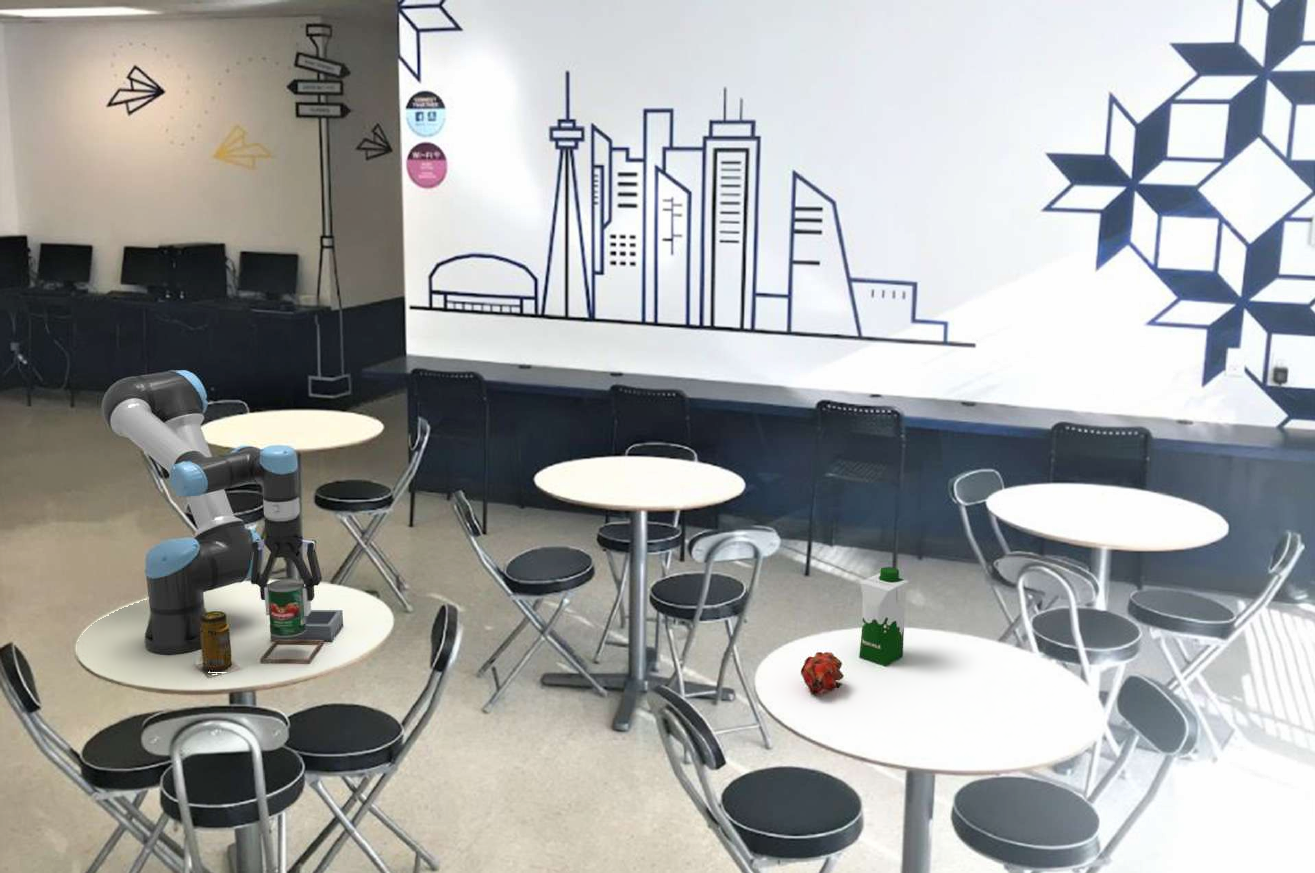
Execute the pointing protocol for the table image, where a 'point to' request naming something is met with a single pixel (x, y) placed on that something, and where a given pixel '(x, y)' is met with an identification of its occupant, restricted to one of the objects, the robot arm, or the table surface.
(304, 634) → the bin
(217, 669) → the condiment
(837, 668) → the dragon fruit
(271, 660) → the wooden picture frame
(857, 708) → the table surface
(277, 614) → the canned tomato
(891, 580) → the milk carton
